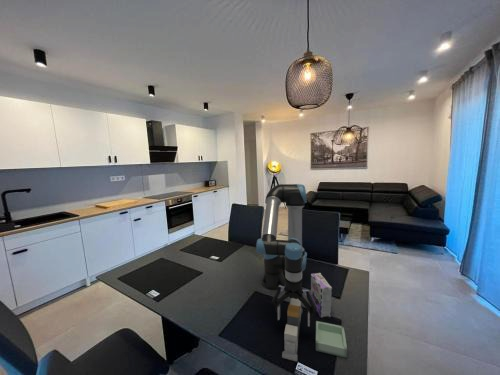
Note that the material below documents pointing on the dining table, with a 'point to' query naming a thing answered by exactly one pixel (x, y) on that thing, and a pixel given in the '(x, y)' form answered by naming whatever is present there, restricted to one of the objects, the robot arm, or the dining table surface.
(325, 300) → the candy box
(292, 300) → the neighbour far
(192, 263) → the dining table surface
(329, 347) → the tray
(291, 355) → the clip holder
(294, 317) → the block
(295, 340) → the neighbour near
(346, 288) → the dining table surface
